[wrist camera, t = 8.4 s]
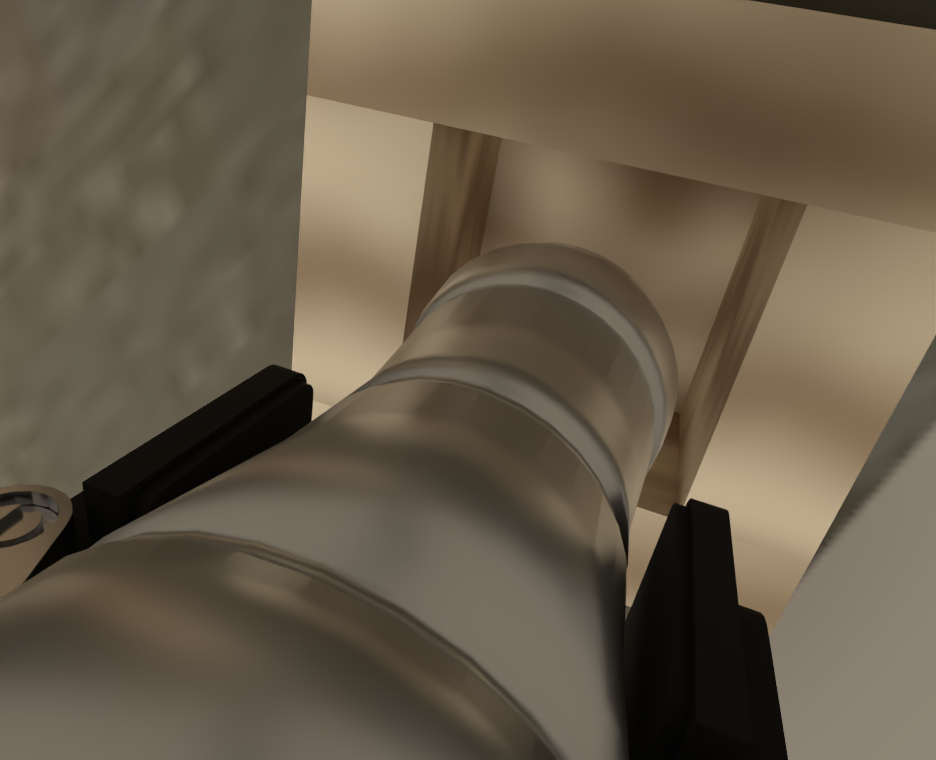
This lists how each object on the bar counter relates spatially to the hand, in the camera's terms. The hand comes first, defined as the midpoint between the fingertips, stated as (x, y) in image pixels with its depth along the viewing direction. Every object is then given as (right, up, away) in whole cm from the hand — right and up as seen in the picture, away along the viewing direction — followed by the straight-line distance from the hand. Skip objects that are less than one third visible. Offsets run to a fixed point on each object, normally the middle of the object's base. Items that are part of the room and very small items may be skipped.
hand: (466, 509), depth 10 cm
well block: (+6, +7, +16) cm, 18 cm away
